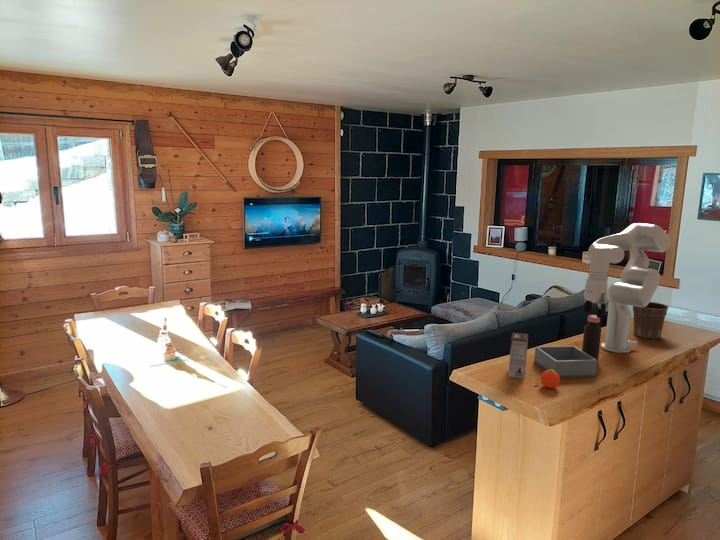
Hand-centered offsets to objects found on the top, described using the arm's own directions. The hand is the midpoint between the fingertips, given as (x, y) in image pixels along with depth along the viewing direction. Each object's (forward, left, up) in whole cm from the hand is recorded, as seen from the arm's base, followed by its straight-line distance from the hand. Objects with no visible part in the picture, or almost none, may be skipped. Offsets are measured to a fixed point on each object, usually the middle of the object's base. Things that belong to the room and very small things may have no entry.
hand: (593, 314), depth 221 cm
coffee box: (+39, +12, -21) cm, 46 cm away
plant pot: (-50, -31, -21) cm, 63 cm away
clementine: (+32, +26, -21) cm, 46 cm away
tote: (+17, +9, -21) cm, 28 cm away
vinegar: (0, 0, -21) cm, 21 cm away
